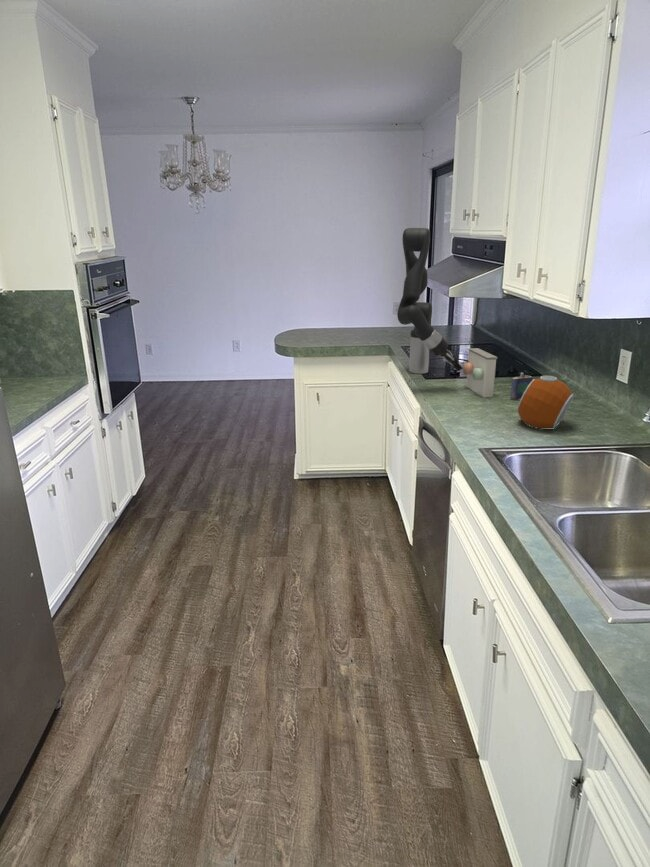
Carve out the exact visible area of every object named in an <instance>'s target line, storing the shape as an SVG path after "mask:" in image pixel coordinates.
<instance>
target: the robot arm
mask: <svg viewBox="0 0 650 867" xmlns="http://www.w3.org/2000/svg"><path fill="white" fill-rule="evenodd" d="M430 246H431V230H430V229H429V228H427V227H408V228H405V229H404V230H403V233H402V248H403V254H404V260H405V273H406V274H405V279H404V281H403V290H402V297H401V300H400V303H399V306H398V308H397V314H396V315H397V320H398V322H399V323H400V324H401V325H405V326H406V325H410V324H412V325H413V326H414V327H413V329H412V330H411V331H410V339H409V340H410V343H409V344H410V345H409V365H408V366H409V367H408V371H409V373H411V374H418V375H419V374H421V375H422V374H427V373H428V372H429V364H430V352H431V353H432V354H433V355H434V356H435V357H436V356H439V357H441V359H444V361H446V362H447V363H448V364H450V365H451V366H452V367H454V369H455V370H456V371H458V372H459V371H461V370H463V366H461V365H460V363H459V361H458V360H457V357H456V355H453V354H452V352H451V350H450V349H448V347H449V343H448V342H447V340H446V339H445V338H444V337H443V336H442V335H441V334H440V333H439V332H438V331H437V330H436V329H435V328H434V327H433V326H432V325H431V324H432V317H433V316H432V314H433V305H432V303H430V302H420V301H419V299H420V296H421V295H422V294H423V292H424V291H425V290H426V289H427V287H428V284H429V281H428V279H429V278H428V270H427V268H426V263H427V259H428V254H429V250H430ZM415 252H419V257H417V255H416V254H415Z"/></svg>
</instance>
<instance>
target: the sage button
mask: <svg viewBox="0 0 650 867" xmlns="http://www.w3.org/2000/svg"><path fill="white" fill-rule="evenodd" d="M472 376H473V379H474V380H482V378H483V370H482V368H474V369H473V372H472Z"/></svg>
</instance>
